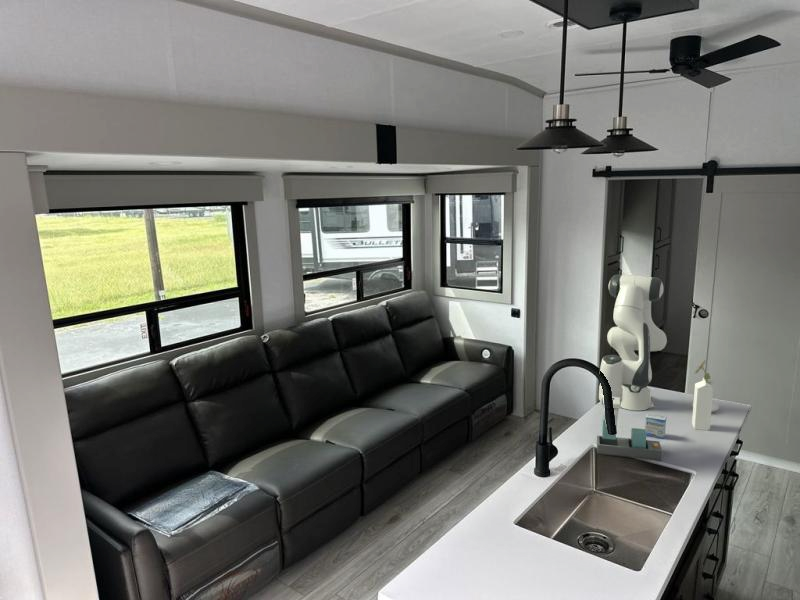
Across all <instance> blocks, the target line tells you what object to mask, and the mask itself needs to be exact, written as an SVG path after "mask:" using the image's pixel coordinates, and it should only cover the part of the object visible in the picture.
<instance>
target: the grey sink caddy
mask: <svg viewBox="0 0 800 600" xmlns="http://www.w3.org/2000/svg"><path fill="white" fill-rule="evenodd" d="M630 434H631V435H630V437H629V438H627V437H617V436H616V440H613V439H603V438H602V435H596V454H597V455H602V456H603V455H604V456H612V457H613V456H614V457H623V458H632V459H640V460H641V459H642V460H652V461H660V460H661V461H662V460H663V449H662V446H661V441H660V440H659V441H658V440H652V439H651V440H649V439H648V440H647V436H646V431H645V428H635V427H634V428H633V427H632V428H631V433H630Z"/></svg>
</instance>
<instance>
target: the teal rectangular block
mask: <svg viewBox="0 0 800 600" xmlns="http://www.w3.org/2000/svg"><path fill="white" fill-rule="evenodd" d="M601 426H602V427H601V428H602V429H601V436H602V438H603V439H613V440H616V437H617V434H616V435H609V434H608V433H607V426H606V422H605V414H602V424H601Z"/></svg>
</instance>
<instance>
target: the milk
mask: <svg viewBox="0 0 800 600" xmlns="http://www.w3.org/2000/svg"><path fill="white" fill-rule="evenodd" d="M704 378H705V377H703V378H702V380H703V381H700V380H699V381H698V382H695V384H694V391H693V392H694V394H693V401H694V403H693V406H692V419H691V425H692V426H693V428H694V430H701V431H710V430H711V419H712V412H711V409H712V400H713V396H714V395H713V394H714V388H713V387H712V385H710V384H708V383H706V381H705V380H706V379H704Z"/></svg>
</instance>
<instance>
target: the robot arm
mask: <svg viewBox="0 0 800 600" xmlns="http://www.w3.org/2000/svg"><path fill="white" fill-rule="evenodd" d="M608 291H609V294H610V296H611V297H612V298H616V299H615V303H614V308H613V313H612V314H613V322H614V324H615V325H616V326H612V327H611V328H610V329H609V330H608V332H607V335H606V337H607V339H606V340H607V342H608V344H609V346H610V347H611V348H613V349H614V350H615V351H616V352H617V354H618V355H617V354H608V355H604V356H603V357H602V359H601V361H600V368H599V372H600V371H601V372H602V373H603V374H604V376H605V377H606V379H607V380H608V383H609V385H610V387H611V391H612V400H613V408H614V415H615V425H616V426H617V423H618V418H619V409H621V408H622V409H624V410H627V411H628V410H629V411H636V412H637V411H646V410H647V409H648V410H649V409H650V408H655V404H654V402H652V400H651V397H652V396H651V393H652V391H651V389H650V388H649V387H648V385H649V384H650V383H651V381H652V377H653V372H652V366H651V363H652V362H651V352H658V351H660V352H661V351H662V350H663V349H665V347H666V346H667V343H668V340H667V335H666V332H664V331H663V329H660V327H658V326H657V325H656V324H655V323H654V321H653V318H652V302H658V301H659V300H660V299H661V297H662V296H663V294H664V284H663V281H662V279H660V278H659V277H655V276H648V275H640V274H622V273H621V274H620V273H619V274H614V275H613V276H612V277H610V279H609V283H608ZM635 351H638V354H637V353H635ZM598 400H599V401H600V402H601V405H602V407H603V410H604V413H605V405H604V395H603V389H602V386H601V383H599V386H598ZM605 422H606V420H605ZM606 426H607V425H606Z"/></svg>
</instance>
